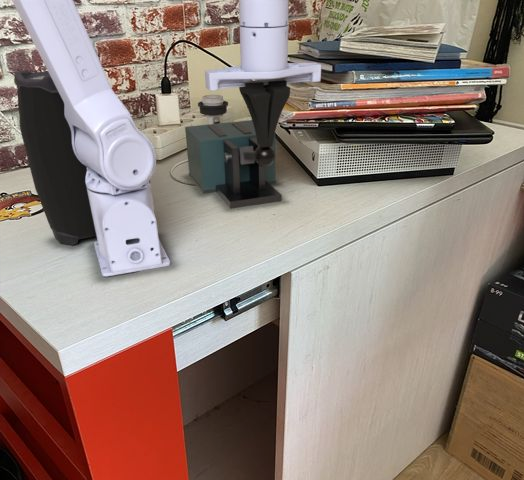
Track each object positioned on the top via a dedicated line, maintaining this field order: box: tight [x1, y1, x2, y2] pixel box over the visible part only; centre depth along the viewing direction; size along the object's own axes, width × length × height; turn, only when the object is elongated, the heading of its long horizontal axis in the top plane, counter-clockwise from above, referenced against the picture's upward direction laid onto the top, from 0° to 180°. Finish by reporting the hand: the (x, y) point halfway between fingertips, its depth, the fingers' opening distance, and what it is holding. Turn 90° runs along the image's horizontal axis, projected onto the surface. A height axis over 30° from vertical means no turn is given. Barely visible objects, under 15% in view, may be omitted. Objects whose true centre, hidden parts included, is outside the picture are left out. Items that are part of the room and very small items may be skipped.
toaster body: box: [184, 119, 277, 195], centre depth 86 cm, size 9×12×8 cm
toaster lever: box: [238, 146, 276, 167], centre depth 76 cm, size 12×3×3 cm, turn 20°
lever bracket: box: [215, 137, 282, 210], centre depth 81 cm, size 10×8×8 cm
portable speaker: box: [13, 69, 97, 246], centre depth 66 cm, size 9×9×20 cm
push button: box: [197, 94, 229, 125], centre depth 97 cm, size 7×5×10 cm
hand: (264, 145), depth 71 cm, fingers closed, pressing on toaster lever
